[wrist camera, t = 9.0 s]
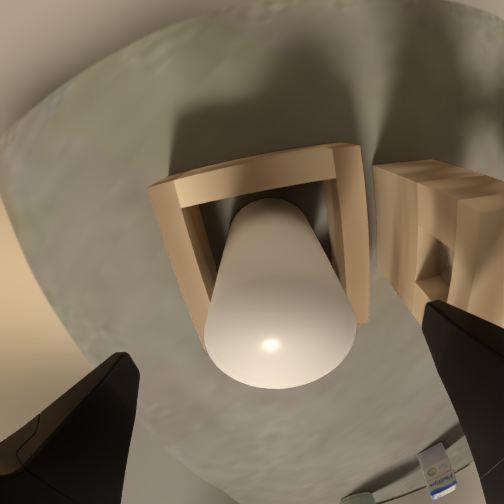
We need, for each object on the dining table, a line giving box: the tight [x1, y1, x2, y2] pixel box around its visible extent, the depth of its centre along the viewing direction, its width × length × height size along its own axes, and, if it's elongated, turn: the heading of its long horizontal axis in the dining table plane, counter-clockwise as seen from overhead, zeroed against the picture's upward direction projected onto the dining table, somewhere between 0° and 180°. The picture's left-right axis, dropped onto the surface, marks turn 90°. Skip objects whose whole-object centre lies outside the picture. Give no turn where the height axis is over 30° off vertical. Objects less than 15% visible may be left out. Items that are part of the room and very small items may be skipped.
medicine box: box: [418, 442, 457, 500], centre depth 25 cm, size 8×4×9 cm, turn 34°
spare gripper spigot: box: [204, 198, 357, 389], centre depth 11 cm, size 4×4×8 cm
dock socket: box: [147, 142, 504, 350], centre depth 11 cm, size 14×9×8 cm, turn 102°
